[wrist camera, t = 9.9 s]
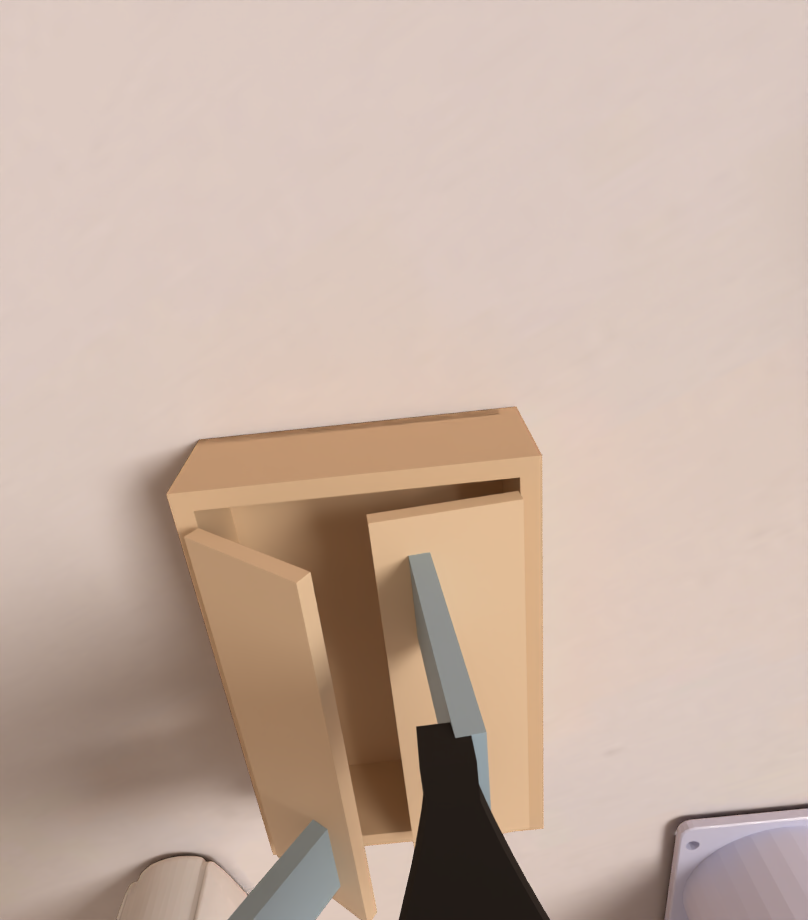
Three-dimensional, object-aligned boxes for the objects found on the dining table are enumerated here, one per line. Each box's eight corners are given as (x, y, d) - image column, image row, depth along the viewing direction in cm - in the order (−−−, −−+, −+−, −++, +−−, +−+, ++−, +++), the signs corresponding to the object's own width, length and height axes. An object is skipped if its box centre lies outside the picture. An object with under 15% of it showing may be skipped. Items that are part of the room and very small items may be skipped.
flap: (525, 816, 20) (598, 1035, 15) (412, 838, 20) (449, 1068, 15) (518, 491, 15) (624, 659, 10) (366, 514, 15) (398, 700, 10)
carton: (524, 748, 23) (543, 828, 20) (285, 771, 23) (273, 854, 20) (516, 406, 17) (541, 455, 15) (199, 439, 17) (166, 494, 15)
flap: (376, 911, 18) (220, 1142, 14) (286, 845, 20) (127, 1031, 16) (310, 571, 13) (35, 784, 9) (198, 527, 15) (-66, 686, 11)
